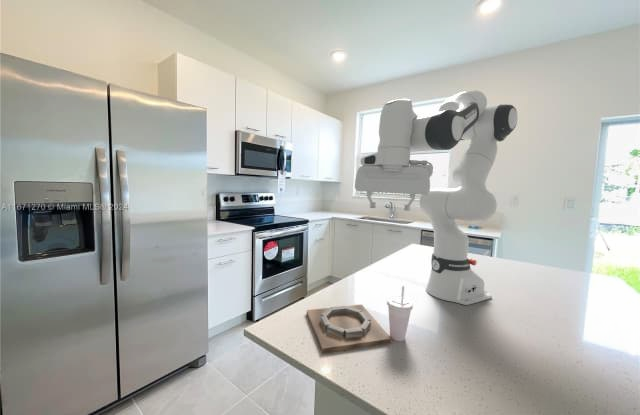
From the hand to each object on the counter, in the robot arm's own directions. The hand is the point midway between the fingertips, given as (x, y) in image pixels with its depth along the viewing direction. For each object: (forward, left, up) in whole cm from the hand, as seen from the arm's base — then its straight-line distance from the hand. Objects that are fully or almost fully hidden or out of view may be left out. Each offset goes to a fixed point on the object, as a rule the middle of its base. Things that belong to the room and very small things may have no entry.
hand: (389, 209), depth 72 cm
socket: (+13, +2, -33) cm, 35 cm away
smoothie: (+1, +9, -33) cm, 34 cm away
